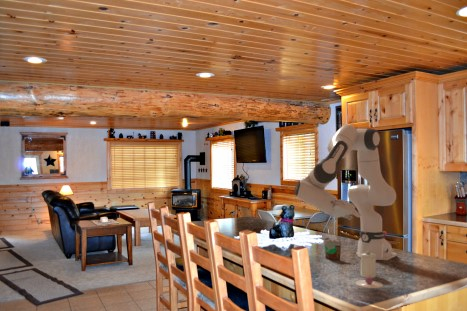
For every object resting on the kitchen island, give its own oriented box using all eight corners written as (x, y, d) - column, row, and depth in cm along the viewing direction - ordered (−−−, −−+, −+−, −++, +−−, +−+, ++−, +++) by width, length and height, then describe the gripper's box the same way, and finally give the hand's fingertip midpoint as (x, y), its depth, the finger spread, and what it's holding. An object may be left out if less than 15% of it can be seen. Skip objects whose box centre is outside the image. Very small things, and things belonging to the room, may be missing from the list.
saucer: (365, 280, 178) (365, 278, 178) (388, 286, 169) (388, 284, 169) (349, 285, 171) (349, 283, 171) (373, 291, 162) (373, 289, 162)
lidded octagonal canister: (366, 274, 186) (366, 249, 186) (378, 277, 181) (377, 251, 181) (358, 276, 182) (358, 251, 182) (370, 279, 177) (370, 253, 177)
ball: (367, 282, 172) (367, 275, 172) (374, 284, 170) (374, 276, 170) (363, 283, 170) (363, 276, 170) (370, 285, 168) (370, 278, 168)
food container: (318, 256, 221) (318, 238, 222) (328, 255, 224) (328, 237, 224) (331, 261, 210) (331, 242, 210) (341, 260, 212) (341, 241, 212)
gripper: (338, 193, 174) (367, 207, 174) (324, 200, 194) (350, 213, 193) (333, 206, 173) (362, 221, 172) (318, 212, 192) (345, 225, 192)
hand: (355, 217), depth 183 cm, fingers open, 8 cm apart
